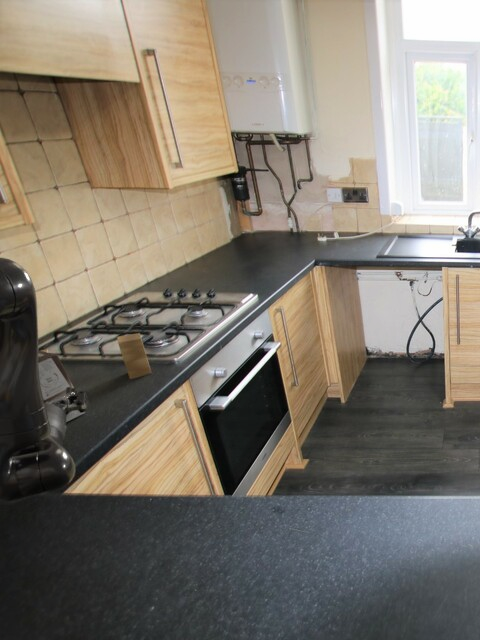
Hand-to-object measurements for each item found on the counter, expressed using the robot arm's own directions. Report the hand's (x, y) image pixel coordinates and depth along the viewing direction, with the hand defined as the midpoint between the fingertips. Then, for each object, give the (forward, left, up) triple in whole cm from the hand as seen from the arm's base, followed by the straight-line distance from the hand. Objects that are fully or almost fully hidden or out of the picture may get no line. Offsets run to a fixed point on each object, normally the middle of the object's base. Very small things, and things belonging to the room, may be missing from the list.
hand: (44, 396), depth 102 cm
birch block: (+16, +25, -11) cm, 31 cm away
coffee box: (0, +11, -11) cm, 15 cm away
